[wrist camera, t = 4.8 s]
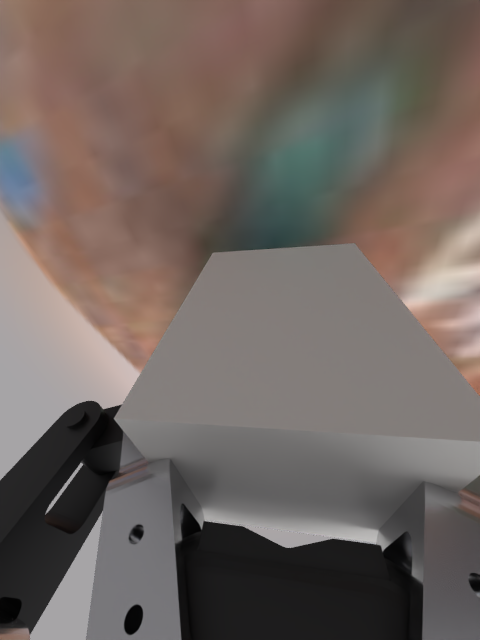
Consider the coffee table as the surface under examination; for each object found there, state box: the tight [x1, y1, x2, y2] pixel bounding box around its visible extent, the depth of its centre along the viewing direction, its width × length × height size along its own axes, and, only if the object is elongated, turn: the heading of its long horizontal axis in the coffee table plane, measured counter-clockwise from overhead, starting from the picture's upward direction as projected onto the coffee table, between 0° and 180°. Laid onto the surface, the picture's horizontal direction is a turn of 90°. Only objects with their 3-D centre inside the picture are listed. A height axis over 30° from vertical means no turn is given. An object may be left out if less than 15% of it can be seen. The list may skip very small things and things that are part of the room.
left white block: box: [114, 243, 480, 543], centre depth 8 cm, size 6×6×8 cm
